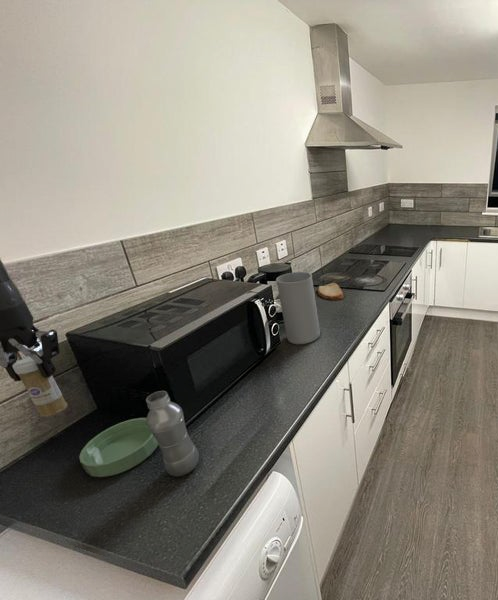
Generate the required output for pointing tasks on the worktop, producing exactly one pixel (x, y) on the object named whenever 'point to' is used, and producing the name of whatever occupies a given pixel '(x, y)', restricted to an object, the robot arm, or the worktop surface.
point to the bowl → (118, 448)
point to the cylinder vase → (298, 307)
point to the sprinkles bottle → (40, 388)
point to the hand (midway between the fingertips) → (35, 376)
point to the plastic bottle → (171, 434)
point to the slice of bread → (330, 291)
